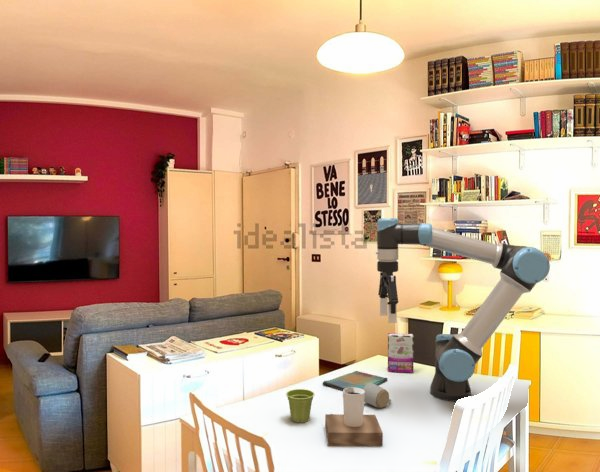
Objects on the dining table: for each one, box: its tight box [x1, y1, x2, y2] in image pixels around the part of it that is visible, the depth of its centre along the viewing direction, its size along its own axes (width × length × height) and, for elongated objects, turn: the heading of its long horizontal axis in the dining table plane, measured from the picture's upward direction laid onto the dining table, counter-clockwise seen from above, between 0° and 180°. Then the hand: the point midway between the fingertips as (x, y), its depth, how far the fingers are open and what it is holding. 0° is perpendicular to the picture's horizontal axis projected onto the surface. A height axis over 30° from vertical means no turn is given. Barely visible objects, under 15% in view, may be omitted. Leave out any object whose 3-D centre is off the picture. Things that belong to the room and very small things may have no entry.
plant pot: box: [285, 388, 315, 423], centre depth 171 cm, size 9×9×9 cm
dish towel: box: [322, 370, 388, 392], centre depth 210 cm, size 17×23×2 cm
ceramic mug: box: [363, 383, 392, 409], centre depth 186 cm, size 10×8×7 cm
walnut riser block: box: [324, 413, 384, 447], centre depth 159 cm, size 16×14×4 cm
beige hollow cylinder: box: [342, 387, 365, 427], centre depth 158 cm, size 7×7×10 cm
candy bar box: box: [387, 332, 415, 374], centre depth 227 cm, size 11×5×16 cm, turn 80°
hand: (387, 319), depth 188 cm, fingers open, 13 cm apart
